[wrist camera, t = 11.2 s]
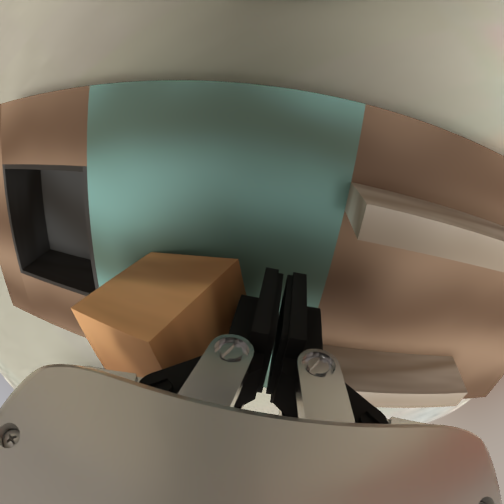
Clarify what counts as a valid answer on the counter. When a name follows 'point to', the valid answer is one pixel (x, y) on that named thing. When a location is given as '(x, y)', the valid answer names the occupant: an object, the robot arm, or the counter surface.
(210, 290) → the block
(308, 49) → the counter surface
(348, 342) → the board
